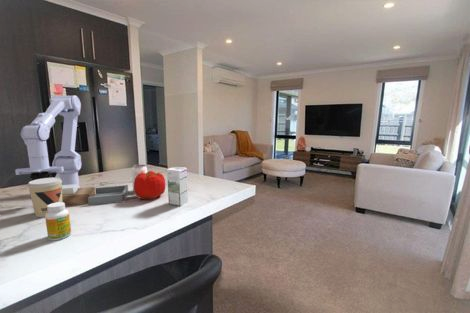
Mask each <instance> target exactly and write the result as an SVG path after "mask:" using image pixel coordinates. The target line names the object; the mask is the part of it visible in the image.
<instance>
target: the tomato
mask: <svg viewBox="0 0 470 313" xmlns="http://www.w3.org/2000/svg"><path fill="white" fill-rule="evenodd" d="M165 191H166V179H165V176H164V175H163V174H162V173H159V172H157V173H156V172H155V171H153V170H149V171H147V173H146V174H145V173H141V174H138V176H137V177H136V178H135V180H134V191H133V192H134V195H135V196H136V197H138V198H140V200H141V199H142V200H147V199H153V200H154V199H156V198H158V197H160V196H162V195H163V194H164V193H165Z"/></svg>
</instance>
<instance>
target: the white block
mask: <svg viewBox="0 0 470 313" xmlns="http://www.w3.org/2000/svg"><path fill="white" fill-rule="evenodd" d="M77 190H78V187H77V184H72V185H62V195H64V194H74V193H75V192H76V191H77Z"/></svg>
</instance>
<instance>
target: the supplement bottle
mask: <svg viewBox="0 0 470 313" xmlns="http://www.w3.org/2000/svg"><path fill="white" fill-rule="evenodd" d="M47 210H48V211H49V212H48V213H47V214H46V215H45V217H44V220H45V224H46V232H47V233H46V234H47V239H48V240H49V241H59V240H64V239H66V238H68V237H70V236H71V235H72V228H71V219H70V212H69V210H68V209H67V208H66V206H65V203H64V202H56V203H52V204H49V205H48V206H47Z"/></svg>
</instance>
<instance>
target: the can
mask: <svg viewBox="0 0 470 313" xmlns="http://www.w3.org/2000/svg"><path fill="white" fill-rule="evenodd" d="M147 172H148V168H147V165H145V164H134V165H132V168H131V177H132V180H131V181H132V190H133V192H134V180H135V178H136V177H137V176H138V174H141V173H145V174H146V173H147Z"/></svg>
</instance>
